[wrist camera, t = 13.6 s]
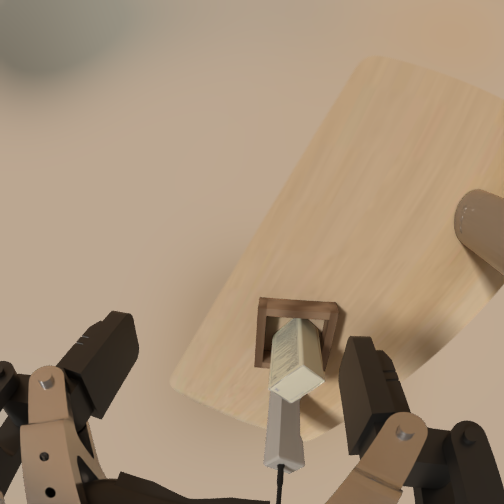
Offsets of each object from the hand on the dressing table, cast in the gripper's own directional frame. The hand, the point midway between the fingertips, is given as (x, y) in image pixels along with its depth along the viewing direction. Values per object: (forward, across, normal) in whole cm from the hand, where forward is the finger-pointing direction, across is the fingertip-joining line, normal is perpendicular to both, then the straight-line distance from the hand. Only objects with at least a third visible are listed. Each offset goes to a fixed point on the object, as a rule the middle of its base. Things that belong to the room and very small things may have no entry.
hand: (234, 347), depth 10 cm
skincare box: (+30, -5, +21) cm, 37 cm away
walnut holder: (+30, -5, +21) cm, 37 cm away
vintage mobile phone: (+30, -5, +35) cm, 47 cm away
